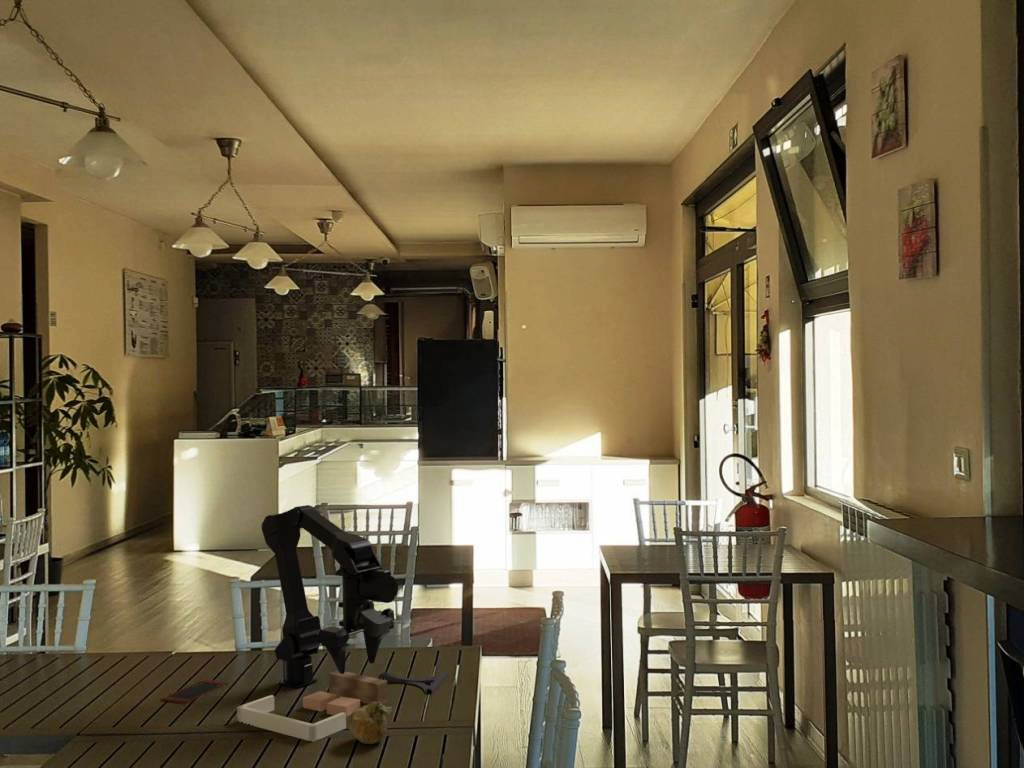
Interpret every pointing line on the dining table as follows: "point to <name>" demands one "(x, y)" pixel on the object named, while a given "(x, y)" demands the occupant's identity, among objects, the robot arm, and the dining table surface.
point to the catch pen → (287, 721)
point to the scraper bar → (358, 687)
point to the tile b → (343, 706)
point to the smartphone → (193, 691)
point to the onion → (369, 722)
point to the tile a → (318, 700)
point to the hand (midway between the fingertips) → (357, 668)
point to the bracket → (417, 680)
